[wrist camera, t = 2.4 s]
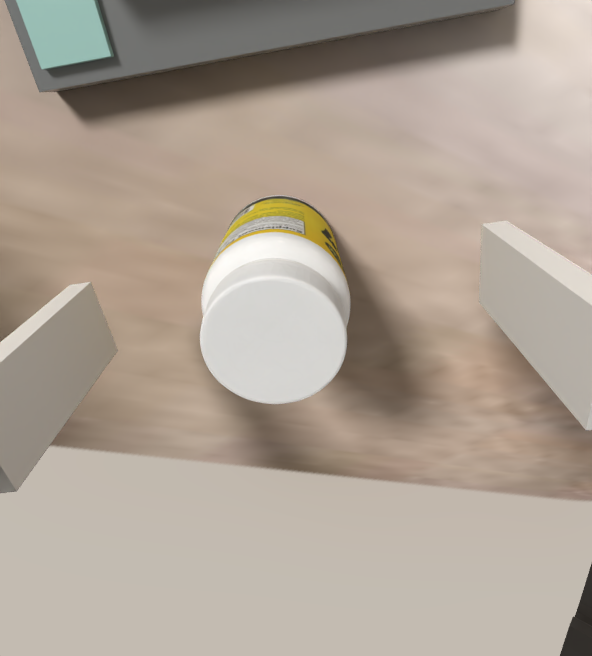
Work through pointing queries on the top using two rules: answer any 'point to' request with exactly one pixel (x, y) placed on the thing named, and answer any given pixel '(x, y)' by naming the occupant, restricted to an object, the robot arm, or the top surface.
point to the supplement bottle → (275, 303)
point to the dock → (196, 31)
